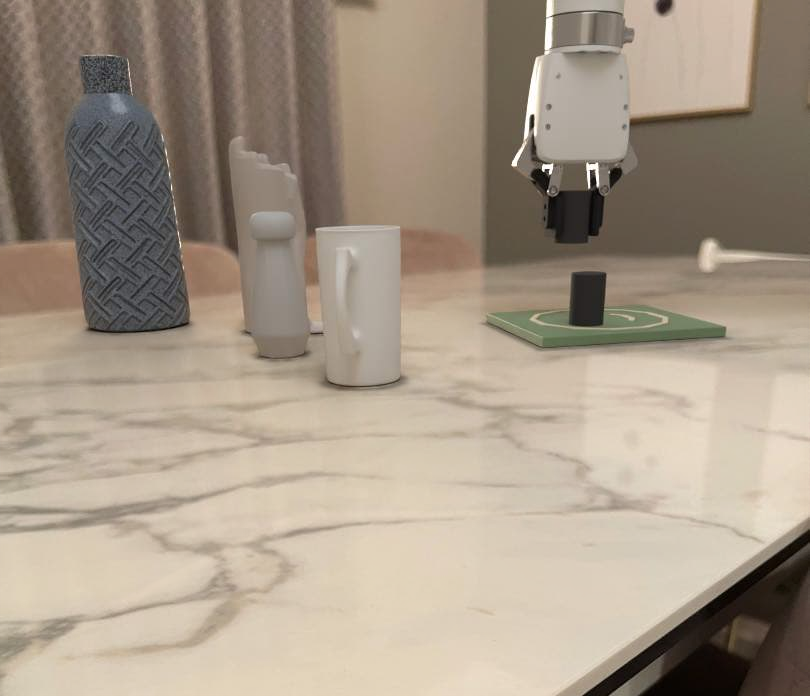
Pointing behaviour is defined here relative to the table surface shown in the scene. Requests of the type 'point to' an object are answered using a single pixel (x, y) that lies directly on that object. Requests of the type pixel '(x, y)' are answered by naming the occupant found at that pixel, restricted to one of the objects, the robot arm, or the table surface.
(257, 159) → the foot sculpture
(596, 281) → the black upright cylinder
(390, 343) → the mug
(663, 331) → the face board
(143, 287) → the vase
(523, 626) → the table surface
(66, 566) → the table surface
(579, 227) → the black upright cylinder
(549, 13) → the robot arm
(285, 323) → the salt shaker
